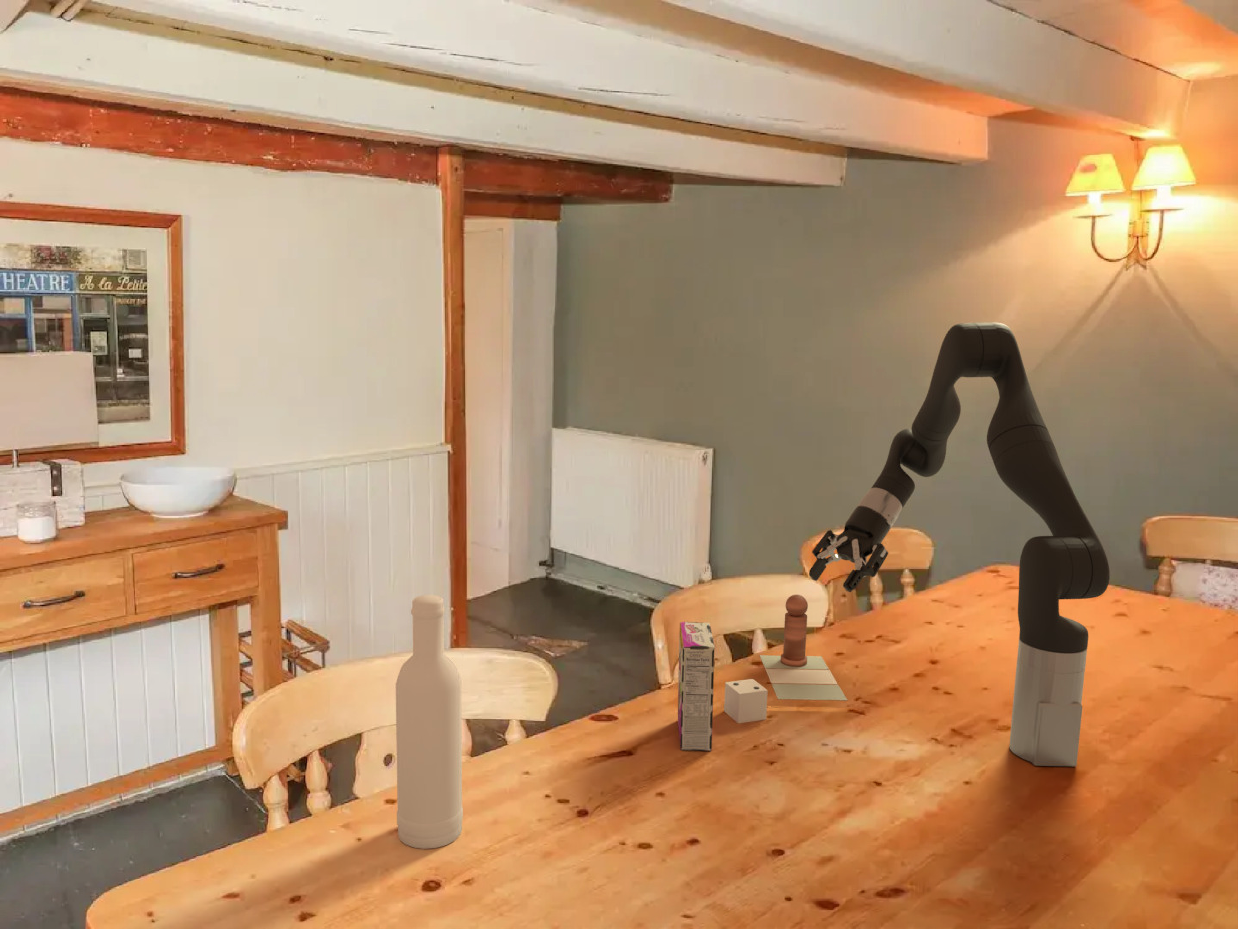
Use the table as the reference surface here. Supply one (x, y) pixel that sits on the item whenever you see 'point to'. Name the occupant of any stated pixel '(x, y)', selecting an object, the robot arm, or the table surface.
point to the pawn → (795, 632)
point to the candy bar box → (695, 686)
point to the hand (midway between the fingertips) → (829, 583)
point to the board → (802, 679)
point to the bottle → (429, 735)
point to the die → (745, 701)
